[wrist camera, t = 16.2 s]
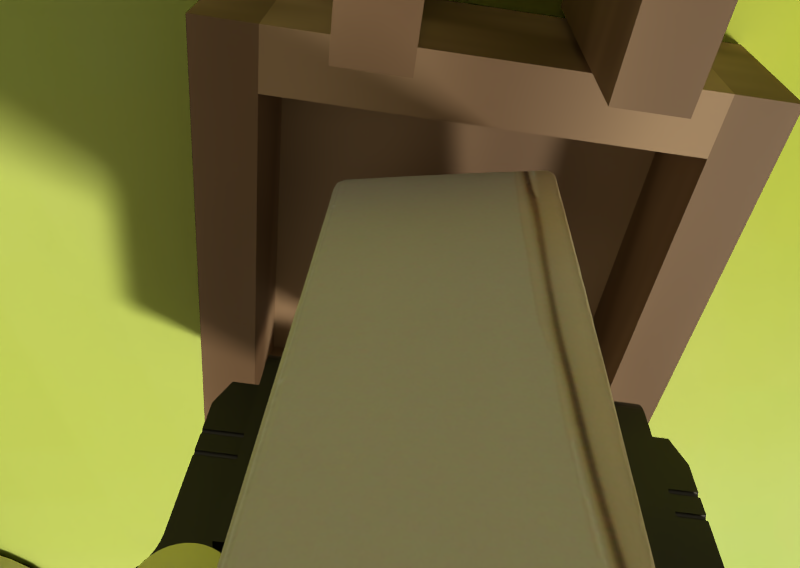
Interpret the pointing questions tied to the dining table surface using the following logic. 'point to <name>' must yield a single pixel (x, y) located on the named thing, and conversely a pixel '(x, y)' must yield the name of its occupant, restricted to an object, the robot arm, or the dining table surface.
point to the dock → (478, 150)
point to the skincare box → (441, 393)
